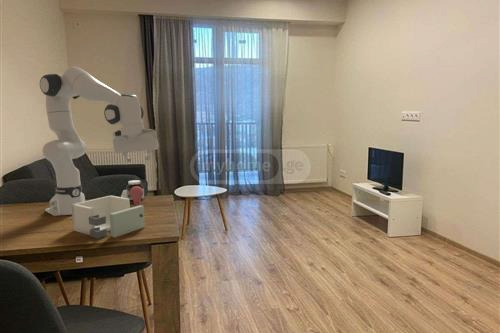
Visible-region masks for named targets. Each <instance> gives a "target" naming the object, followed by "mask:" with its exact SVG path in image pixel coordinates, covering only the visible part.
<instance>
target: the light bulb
mask: <svg viewBox="0 0 500 333" xmlns="http://www.w3.org/2000/svg"><path fill="white" fill-rule="evenodd" d="M143 189H144V188H143ZM143 189H142V188H141V187H139V186H135V187H133V188H132V189H131V190H130V196H131V197H132V199H133V201H132V202H133V203H134V204H133V205H134V207H136V206H139V205H142V202H141V201H142V200H141V198H142V196H143Z"/></svg>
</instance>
